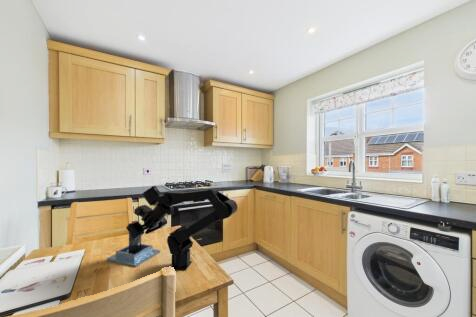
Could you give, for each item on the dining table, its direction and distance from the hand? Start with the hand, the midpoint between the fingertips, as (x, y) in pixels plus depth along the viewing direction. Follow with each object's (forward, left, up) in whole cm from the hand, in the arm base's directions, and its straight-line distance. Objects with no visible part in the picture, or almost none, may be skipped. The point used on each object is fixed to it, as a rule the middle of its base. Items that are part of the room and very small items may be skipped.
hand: (138, 236), depth 92 cm
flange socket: (+2, 0, -9) cm, 9 cm away
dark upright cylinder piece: (+2, 0, -8) cm, 8 cm away
